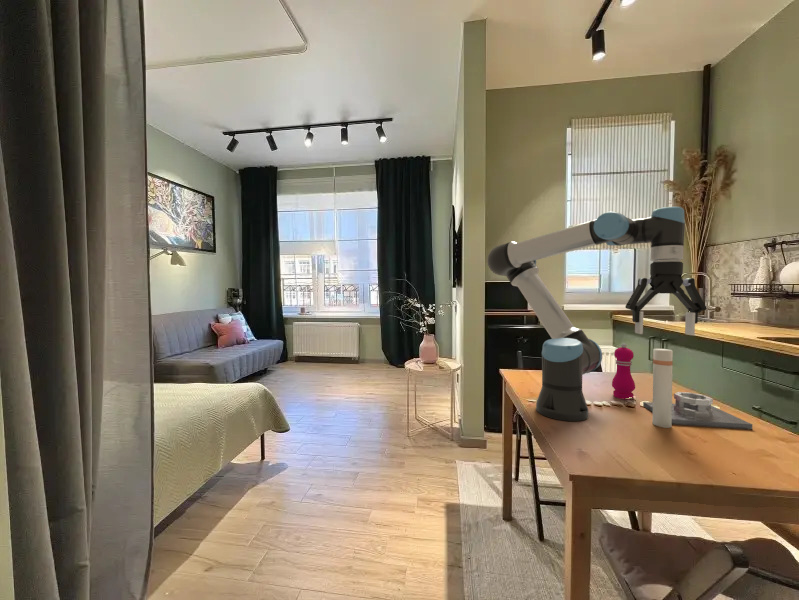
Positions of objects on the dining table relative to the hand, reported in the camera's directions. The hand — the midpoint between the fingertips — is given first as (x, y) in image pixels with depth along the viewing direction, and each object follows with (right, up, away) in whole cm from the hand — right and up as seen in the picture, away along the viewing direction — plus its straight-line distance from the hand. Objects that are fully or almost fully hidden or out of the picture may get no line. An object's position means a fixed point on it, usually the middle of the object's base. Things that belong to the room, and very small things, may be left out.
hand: (663, 334), depth 99 cm
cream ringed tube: (-1, -26, -1) cm, 26 cm away
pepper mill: (+5, -26, +26) cm, 37 cm away
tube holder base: (+14, -26, +6) cm, 30 cm away
